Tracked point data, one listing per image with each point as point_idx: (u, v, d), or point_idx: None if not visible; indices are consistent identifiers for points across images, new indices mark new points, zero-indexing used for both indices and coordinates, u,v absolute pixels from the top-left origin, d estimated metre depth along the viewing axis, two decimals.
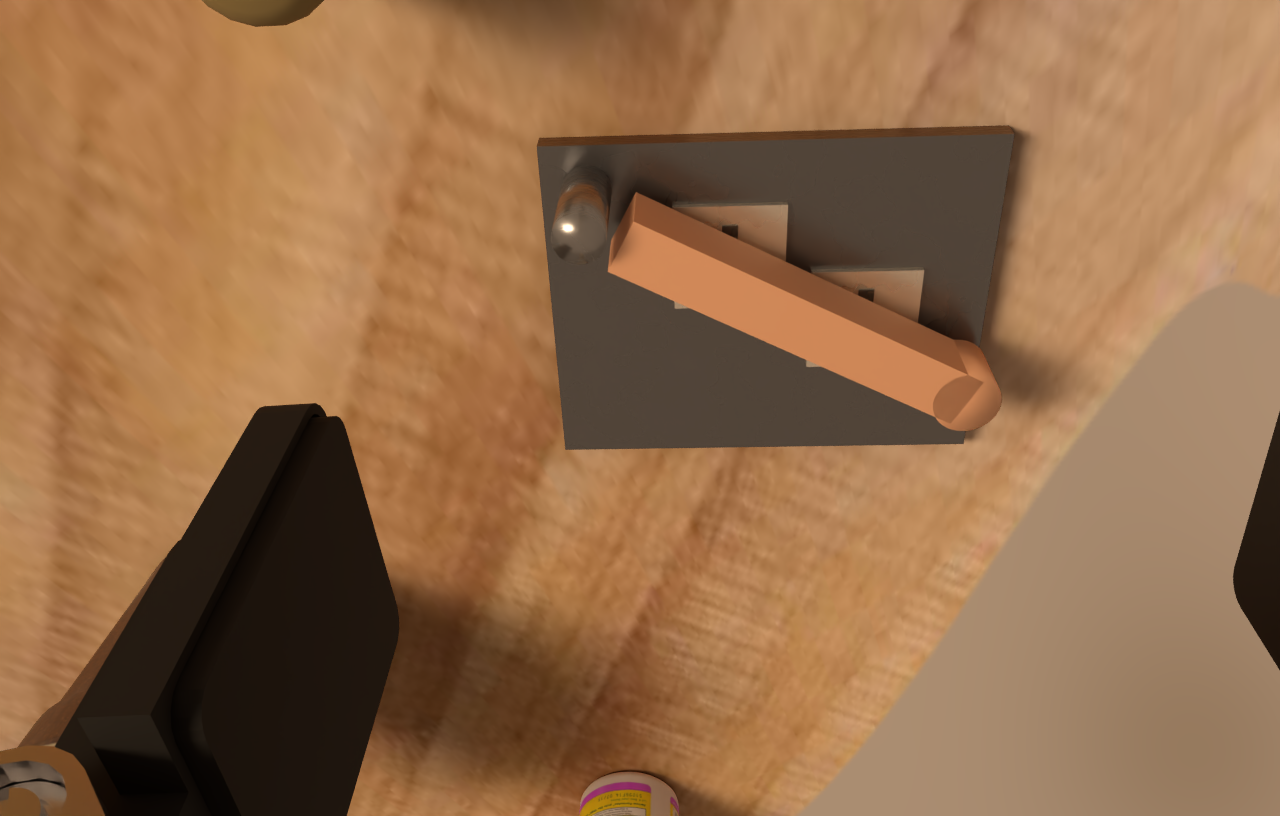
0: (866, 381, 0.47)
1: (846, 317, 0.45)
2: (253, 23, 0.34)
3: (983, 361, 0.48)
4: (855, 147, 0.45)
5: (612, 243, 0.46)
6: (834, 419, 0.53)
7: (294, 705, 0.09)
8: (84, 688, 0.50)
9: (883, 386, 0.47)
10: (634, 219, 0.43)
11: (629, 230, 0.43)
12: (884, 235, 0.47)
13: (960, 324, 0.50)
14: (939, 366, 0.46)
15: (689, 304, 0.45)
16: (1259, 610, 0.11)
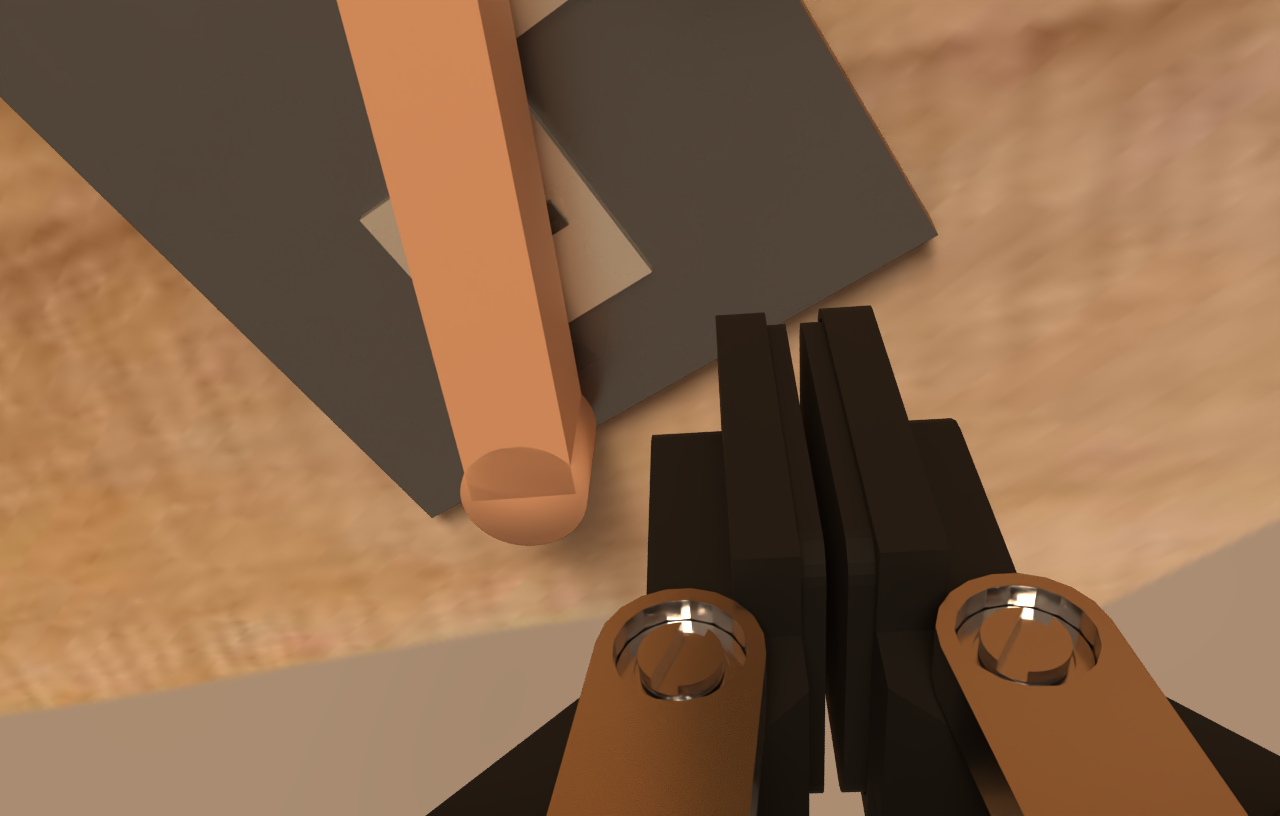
0: (437, 333, 0.23)
1: (521, 215, 0.21)
2: None
3: (591, 461, 0.27)
4: (781, 9, 0.23)
5: None
6: (311, 327, 0.28)
7: None
8: None
9: (450, 365, 0.23)
10: None
11: None
12: (663, 171, 0.25)
13: (602, 382, 0.28)
14: (551, 418, 0.24)
15: None
16: None
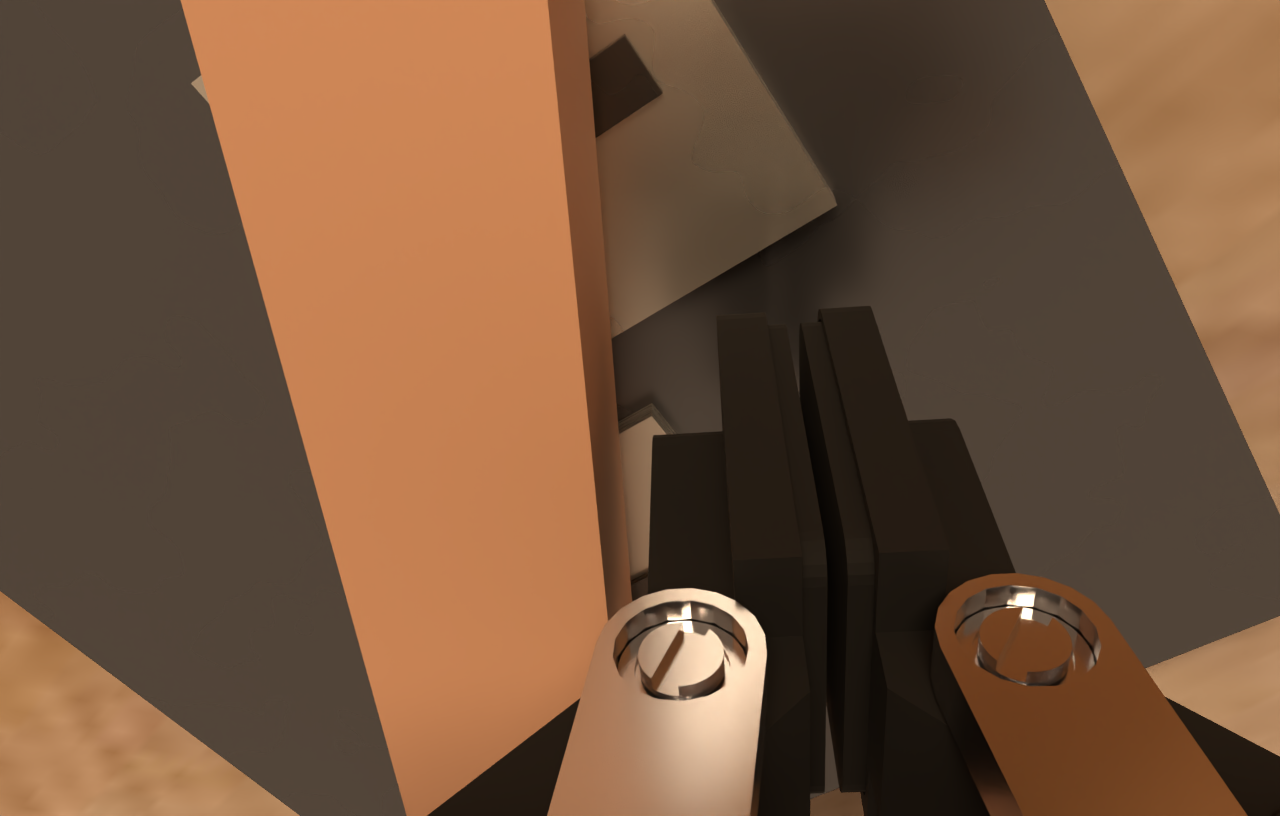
0: None
1: None
2: None
3: None
4: (1126, 271, 0.13)
5: None
6: (278, 710, 0.17)
7: None
8: None
9: None
10: None
11: None
12: None
13: None
14: None
15: (234, 131, 0.08)
16: None
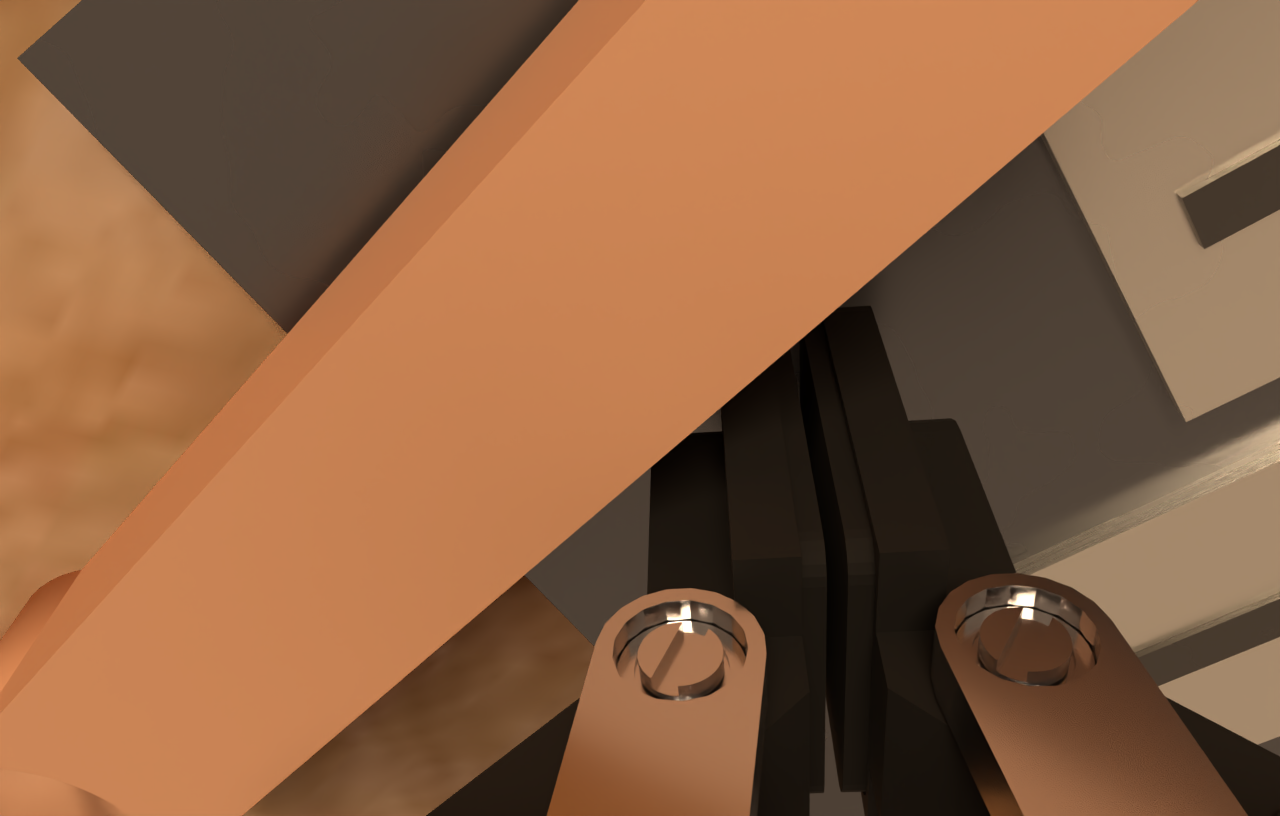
0: (161, 575, 0.09)
1: (545, 546, 0.09)
2: None
3: None
4: None
5: None
6: None
7: None
8: None
9: (126, 630, 0.10)
10: None
11: None
12: None
13: None
14: (222, 809, 0.11)
15: None
16: None
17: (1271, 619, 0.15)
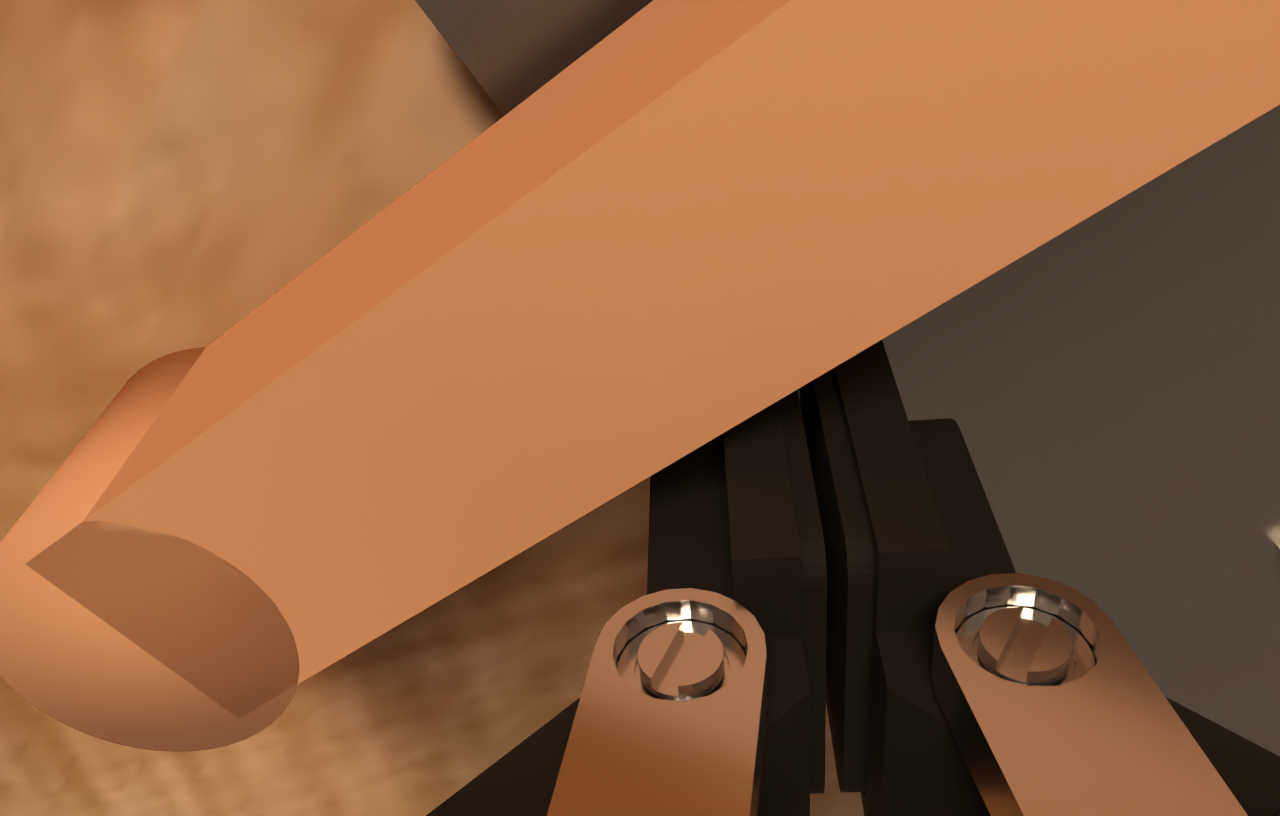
0: (421, 309, 0.08)
1: (853, 345, 0.08)
2: None
3: None
4: None
5: None
6: None
7: None
8: None
9: (354, 373, 0.08)
10: None
11: None
12: None
13: None
14: (383, 610, 0.10)
15: None
16: None
17: None
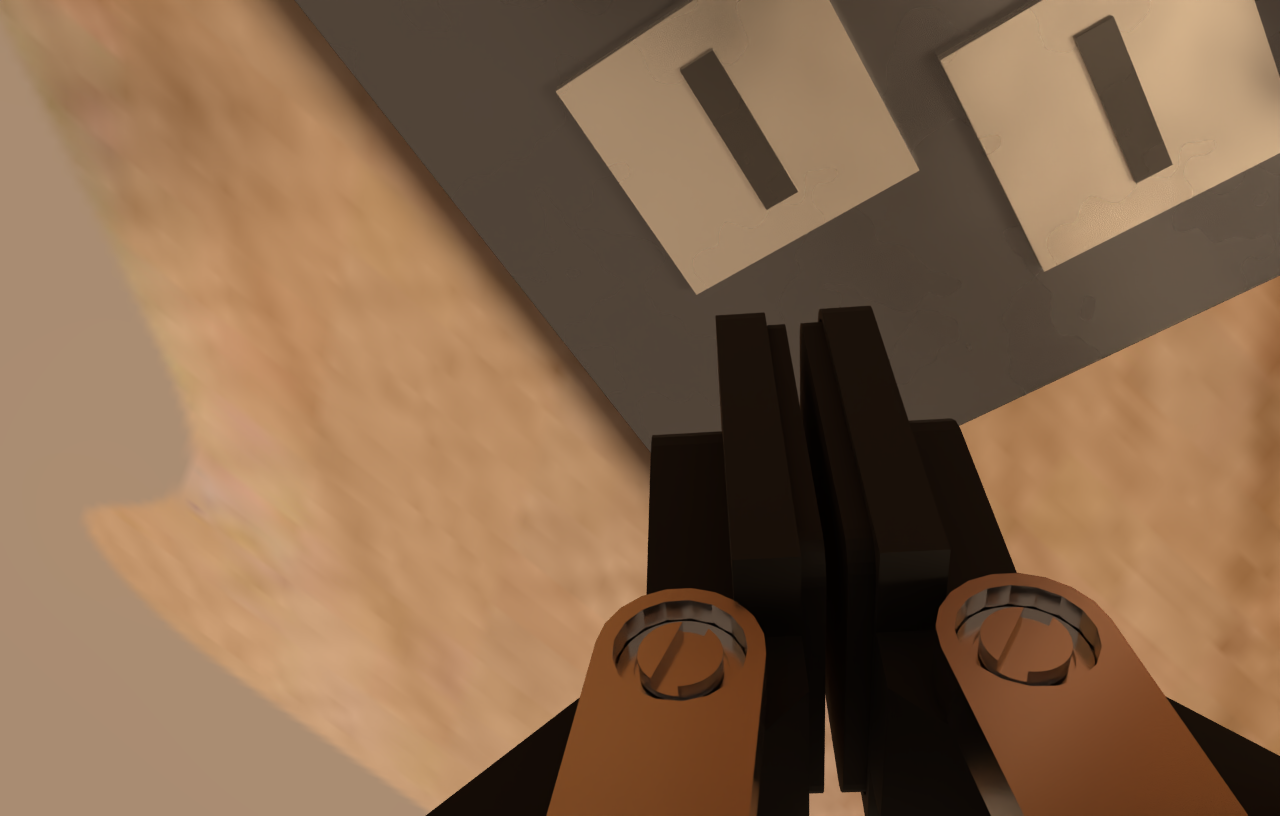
0: None
1: None
2: None
3: None
4: (962, 407, 0.24)
5: None
6: None
7: None
8: None
9: None
10: None
11: None
12: (811, 303, 0.22)
13: (531, 224, 0.22)
14: None
15: None
16: None
17: (754, 162, 0.21)
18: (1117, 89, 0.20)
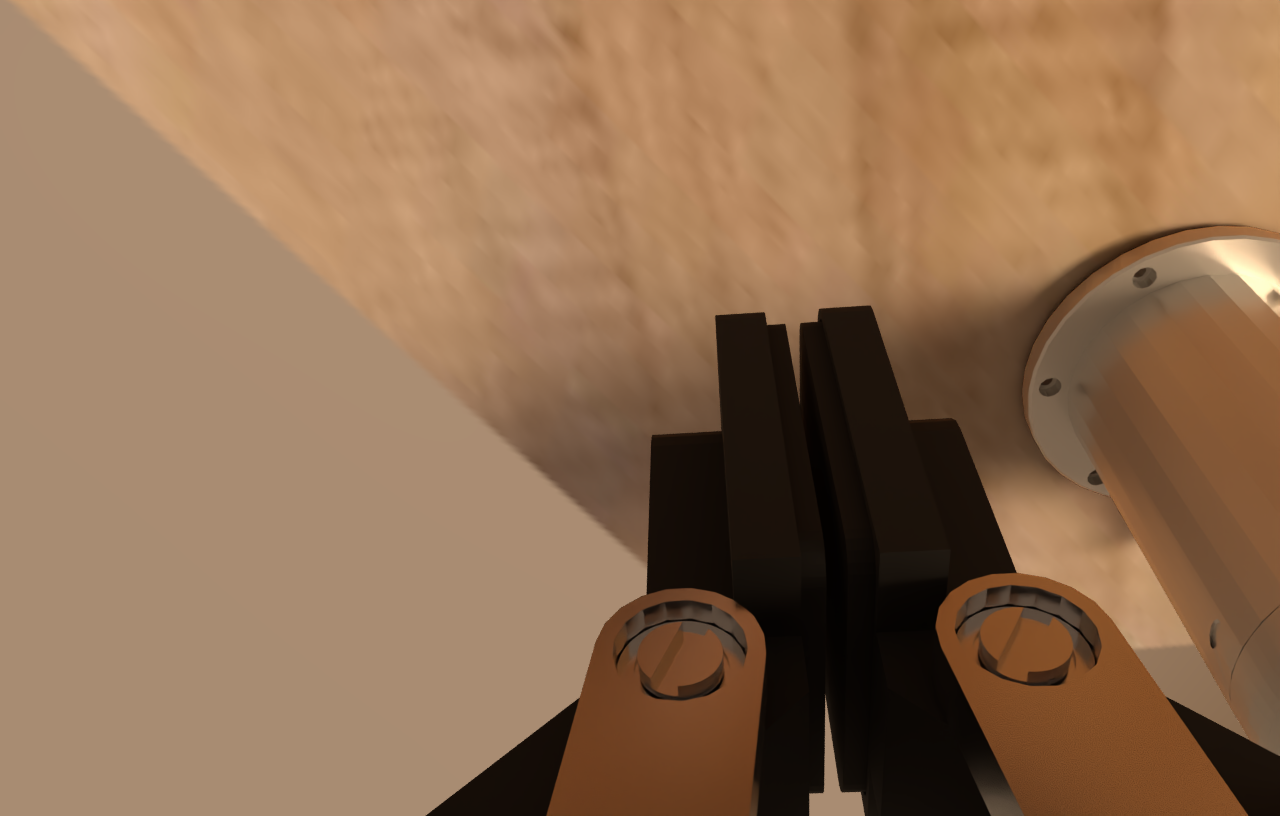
0: None
1: None
2: None
3: None
4: None
5: None
6: None
7: None
8: None
9: None
10: None
11: None
12: None
13: None
14: None
15: None
16: None
17: None
18: None
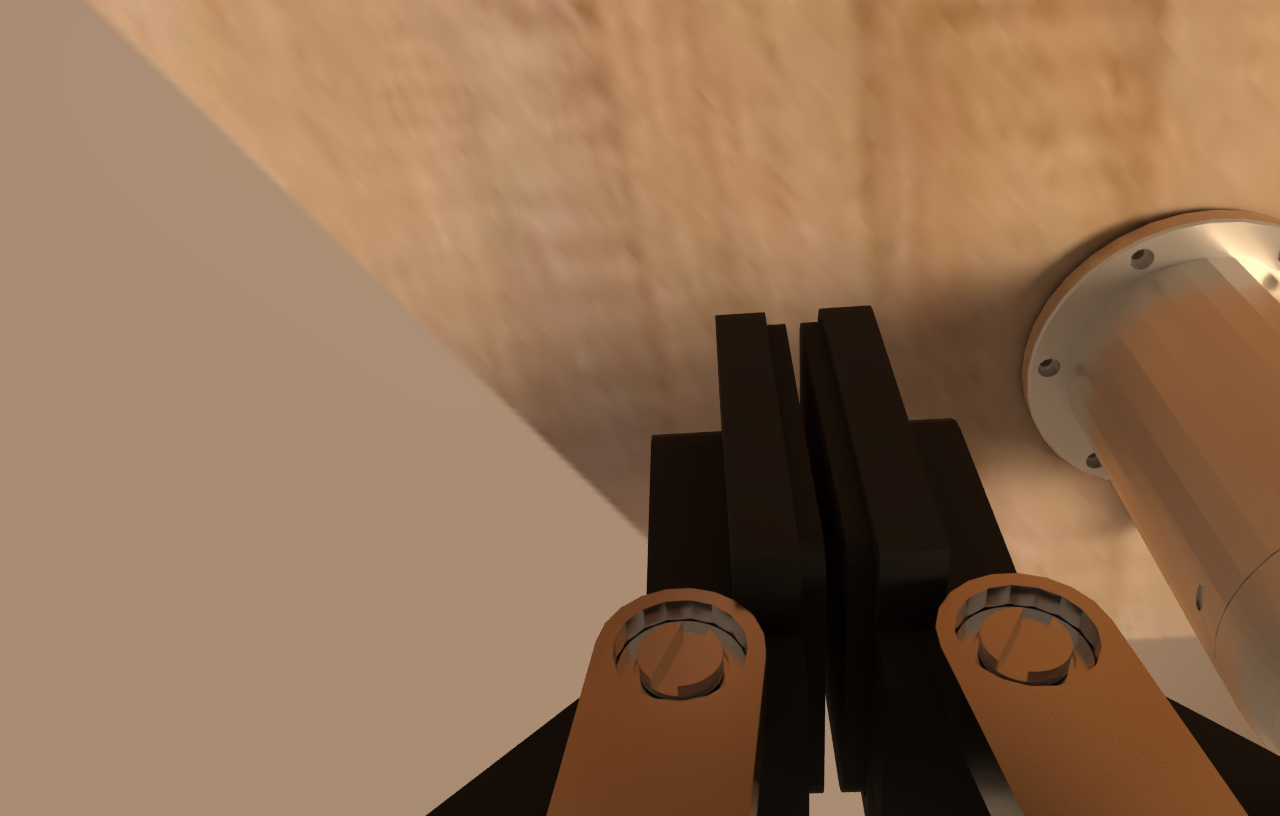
0: None
1: None
2: None
3: None
4: None
5: None
6: None
7: None
8: None
9: None
10: None
11: None
12: None
13: None
14: None
15: None
16: None
17: None
18: None
